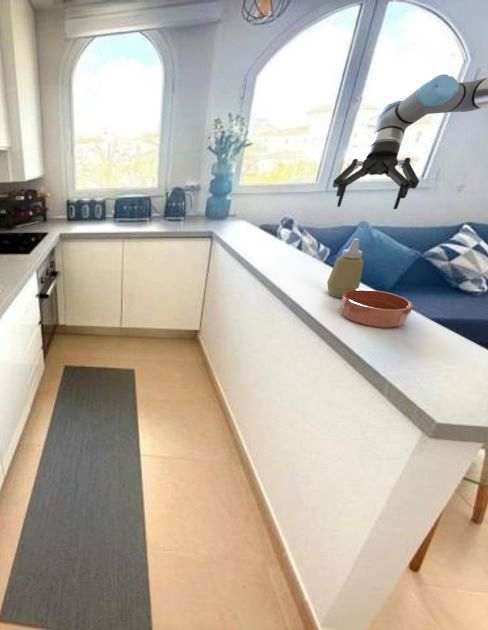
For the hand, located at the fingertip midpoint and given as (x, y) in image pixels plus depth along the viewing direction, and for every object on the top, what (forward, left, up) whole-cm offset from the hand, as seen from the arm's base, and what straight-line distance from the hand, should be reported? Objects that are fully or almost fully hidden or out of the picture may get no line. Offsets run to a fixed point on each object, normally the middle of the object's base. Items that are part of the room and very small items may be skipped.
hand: (366, 205), depth 105 cm
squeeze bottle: (-6, +9, -26) cm, 28 cm away
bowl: (-20, +16, -26) cm, 36 cm away
